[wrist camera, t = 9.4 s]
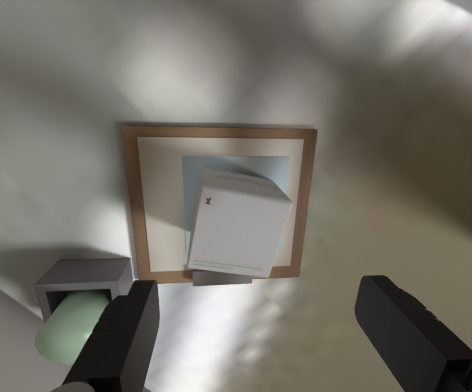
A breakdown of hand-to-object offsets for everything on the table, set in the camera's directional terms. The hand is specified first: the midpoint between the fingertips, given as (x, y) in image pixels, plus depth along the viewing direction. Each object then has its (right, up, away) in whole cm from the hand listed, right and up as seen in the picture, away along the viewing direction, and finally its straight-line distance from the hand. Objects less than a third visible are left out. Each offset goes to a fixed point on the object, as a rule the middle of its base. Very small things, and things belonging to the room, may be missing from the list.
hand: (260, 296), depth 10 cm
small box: (-1, +3, +10) cm, 11 cm away
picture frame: (-2, +3, +11) cm, 11 cm away
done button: (-12, -4, +10) cm, 17 cm away
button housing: (-13, -4, +12) cm, 18 cm away
